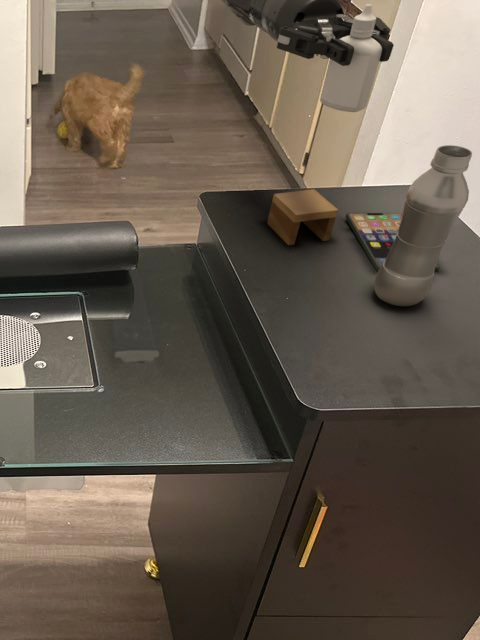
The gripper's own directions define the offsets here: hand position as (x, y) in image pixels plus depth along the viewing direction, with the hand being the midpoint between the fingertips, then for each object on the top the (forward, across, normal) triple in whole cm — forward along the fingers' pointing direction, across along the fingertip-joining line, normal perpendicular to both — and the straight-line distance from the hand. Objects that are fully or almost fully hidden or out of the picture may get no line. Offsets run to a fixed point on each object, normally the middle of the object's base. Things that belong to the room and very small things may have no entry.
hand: (368, 54), depth 87 cm
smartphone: (0, +12, +28) cm, 30 cm away
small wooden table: (-6, +1, +28) cm, 28 cm away
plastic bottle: (+13, +5, +28) cm, 31 cm away
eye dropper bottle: (-3, 0, +7) cm, 8 cm away
